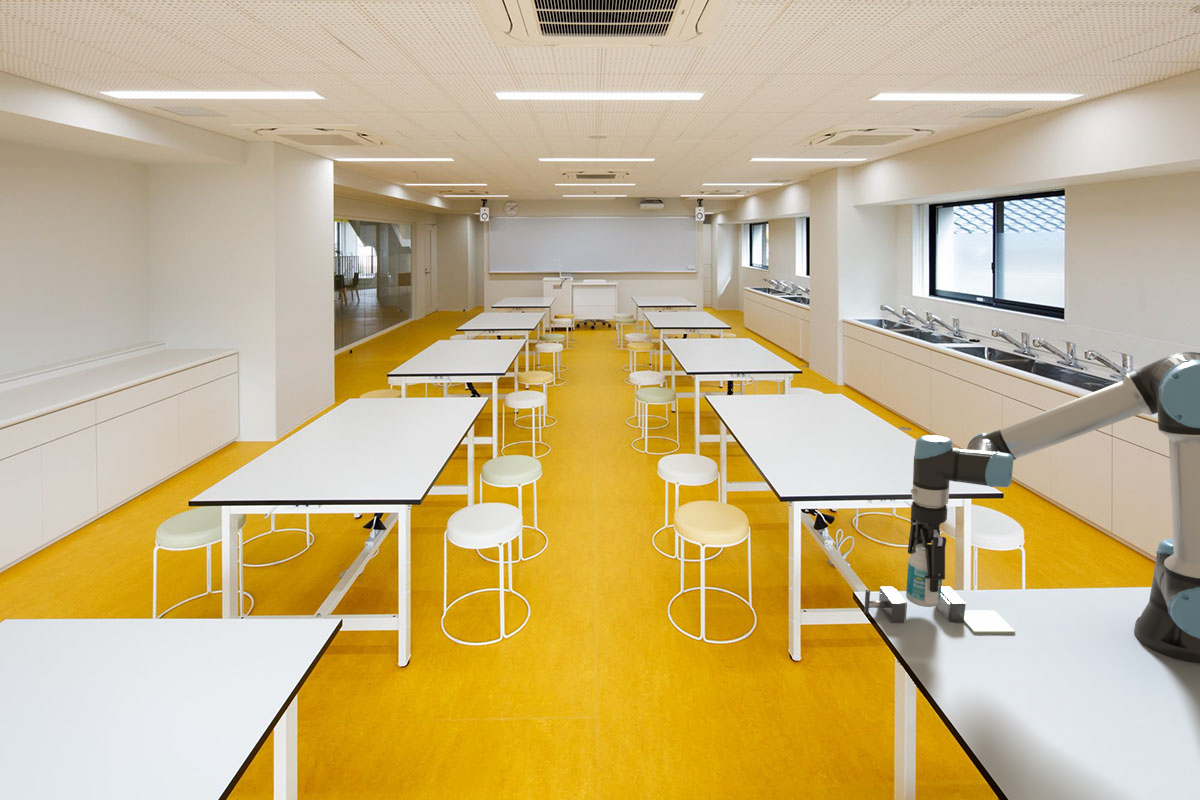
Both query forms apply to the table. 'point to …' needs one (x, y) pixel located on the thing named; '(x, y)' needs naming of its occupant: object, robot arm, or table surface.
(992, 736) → the table surface
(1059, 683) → the table surface
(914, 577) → the pill bottle
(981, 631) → the pad
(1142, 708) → the table surface
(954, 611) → the vise
